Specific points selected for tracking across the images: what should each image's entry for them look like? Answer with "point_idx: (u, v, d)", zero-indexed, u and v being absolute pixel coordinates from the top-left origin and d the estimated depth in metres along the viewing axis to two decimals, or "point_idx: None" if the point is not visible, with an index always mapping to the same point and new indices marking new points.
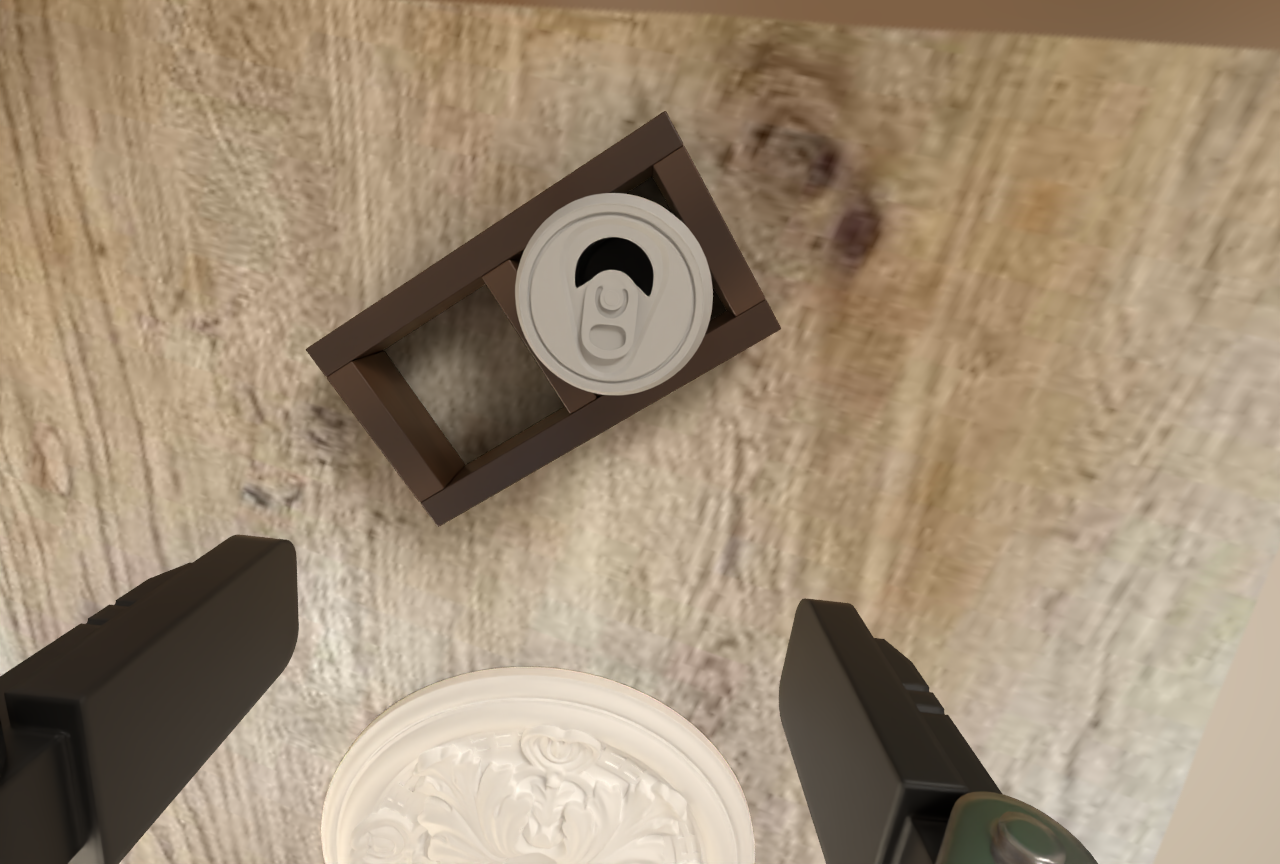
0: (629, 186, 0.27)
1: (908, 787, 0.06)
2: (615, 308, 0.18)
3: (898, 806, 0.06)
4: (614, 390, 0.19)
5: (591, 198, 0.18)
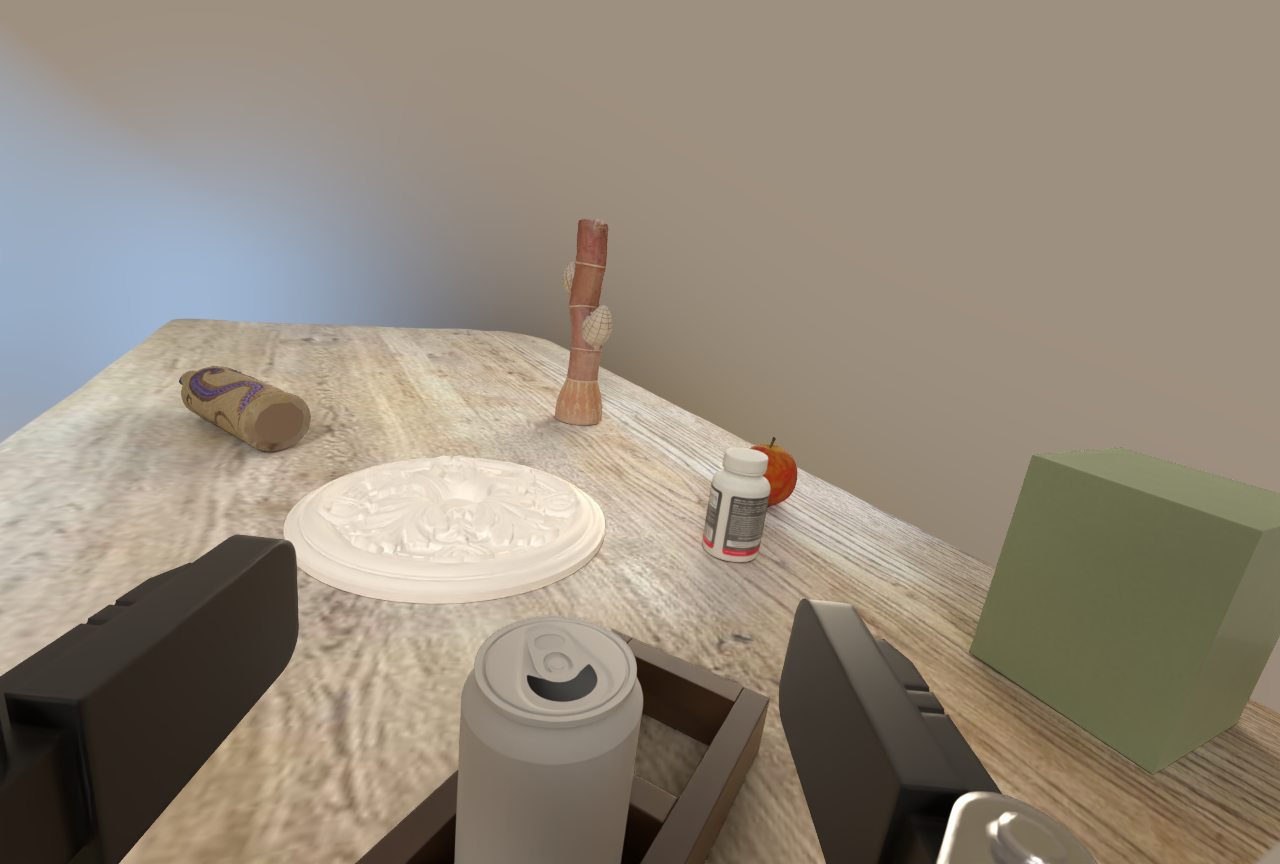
0: None
1: (908, 787, 0.06)
2: (551, 660, 0.21)
3: (898, 806, 0.06)
4: (527, 620, 0.23)
5: (609, 742, 0.19)
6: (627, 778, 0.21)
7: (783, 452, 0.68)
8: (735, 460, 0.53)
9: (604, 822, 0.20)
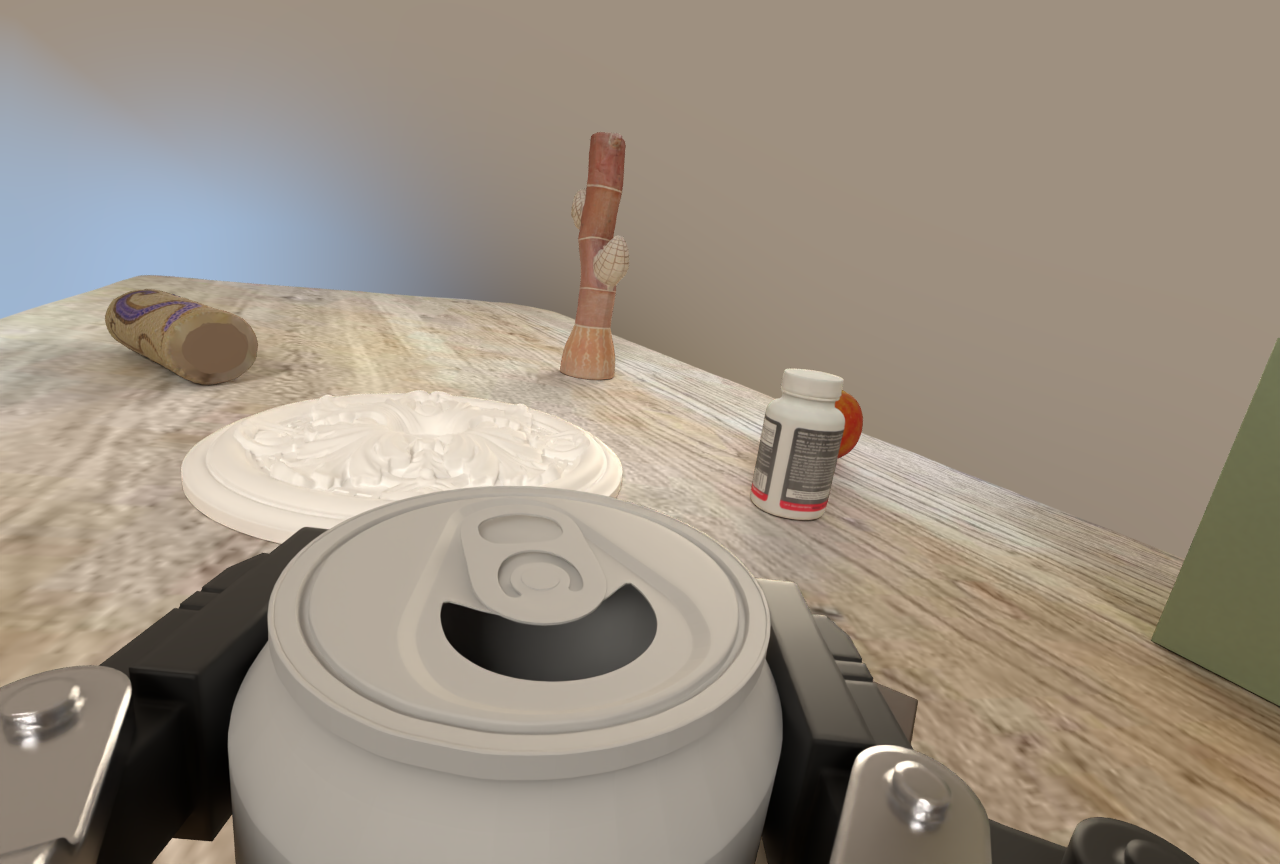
0: None
1: (819, 742, 0.06)
2: (523, 568, 0.07)
3: (811, 760, 0.06)
4: (473, 491, 0.10)
5: (711, 826, 0.05)
6: None
7: (846, 393, 0.54)
8: (801, 380, 0.39)
9: None
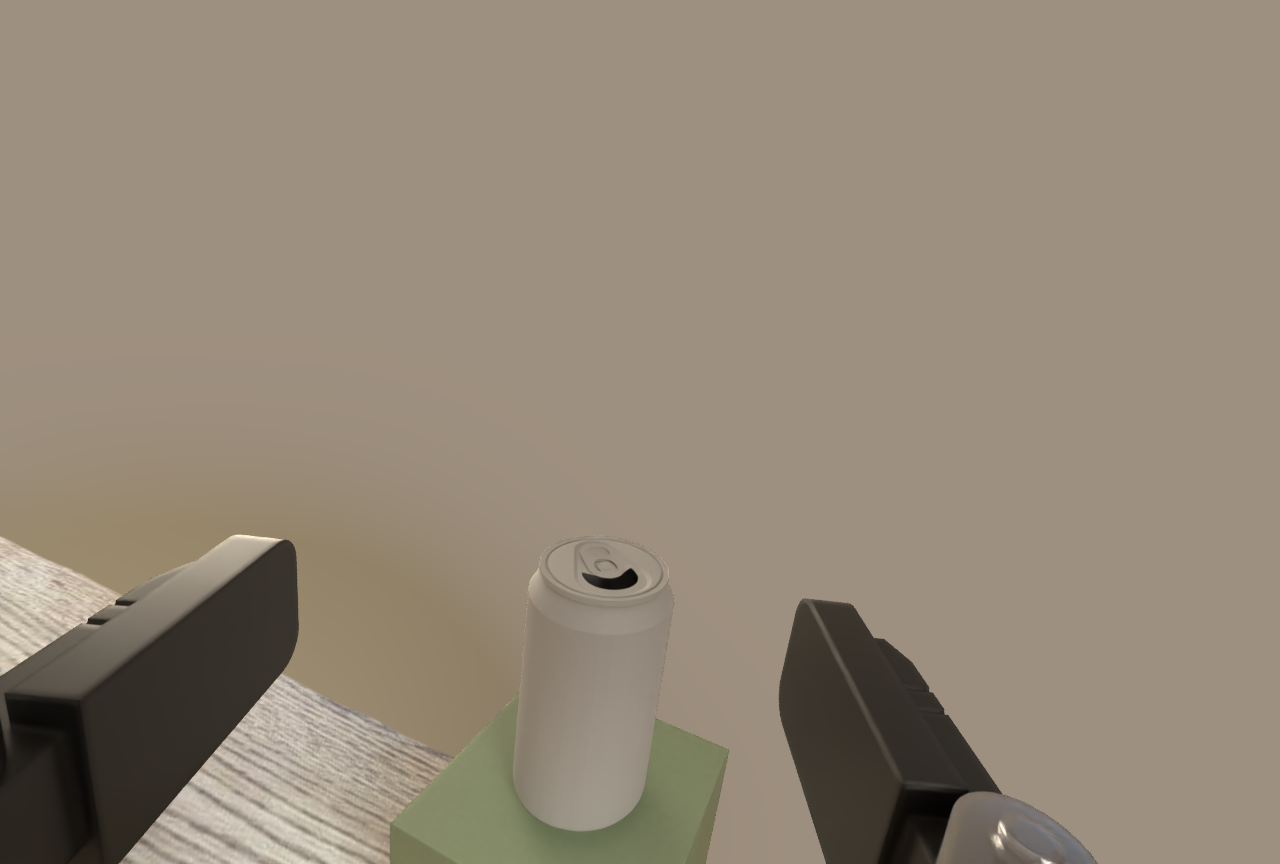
0: None
1: (908, 787, 0.06)
2: (600, 563, 0.26)
3: (898, 806, 0.06)
4: (577, 538, 0.28)
5: (649, 622, 0.24)
6: (661, 659, 0.26)
7: None
8: None
9: (643, 691, 0.25)
